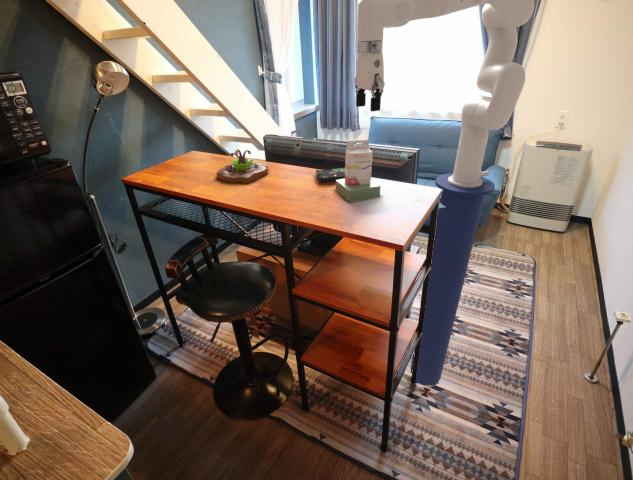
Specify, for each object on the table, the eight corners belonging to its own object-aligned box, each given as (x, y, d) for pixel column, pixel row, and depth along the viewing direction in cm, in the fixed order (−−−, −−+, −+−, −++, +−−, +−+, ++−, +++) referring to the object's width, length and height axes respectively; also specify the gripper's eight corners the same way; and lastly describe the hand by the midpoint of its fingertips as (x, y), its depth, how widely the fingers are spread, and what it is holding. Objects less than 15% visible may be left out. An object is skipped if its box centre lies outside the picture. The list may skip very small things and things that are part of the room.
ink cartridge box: (347, 186, 121) (349, 144, 114) (344, 181, 125) (345, 140, 118) (371, 184, 122) (373, 142, 115) (367, 179, 127) (369, 139, 119)
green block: (363, 185, 132) (364, 175, 130) (379, 196, 123) (380, 185, 121) (335, 190, 129) (335, 179, 127) (349, 202, 119) (349, 191, 117)
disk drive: (320, 185, 134) (356, 181, 136) (319, 178, 133) (357, 174, 134) (315, 176, 143) (350, 172, 145) (315, 169, 141) (350, 166, 143)
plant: (209, 180, 141) (204, 153, 136) (235, 165, 157) (231, 140, 151) (251, 185, 135) (248, 157, 129) (274, 169, 151) (271, 144, 145)
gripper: (396, 47, 97) (392, 111, 105) (367, 47, 111) (365, 103, 119) (372, 49, 94) (370, 114, 103) (345, 48, 108) (345, 105, 117)
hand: (367, 108), depth 111 cm, fingers open, 9 cm apart
